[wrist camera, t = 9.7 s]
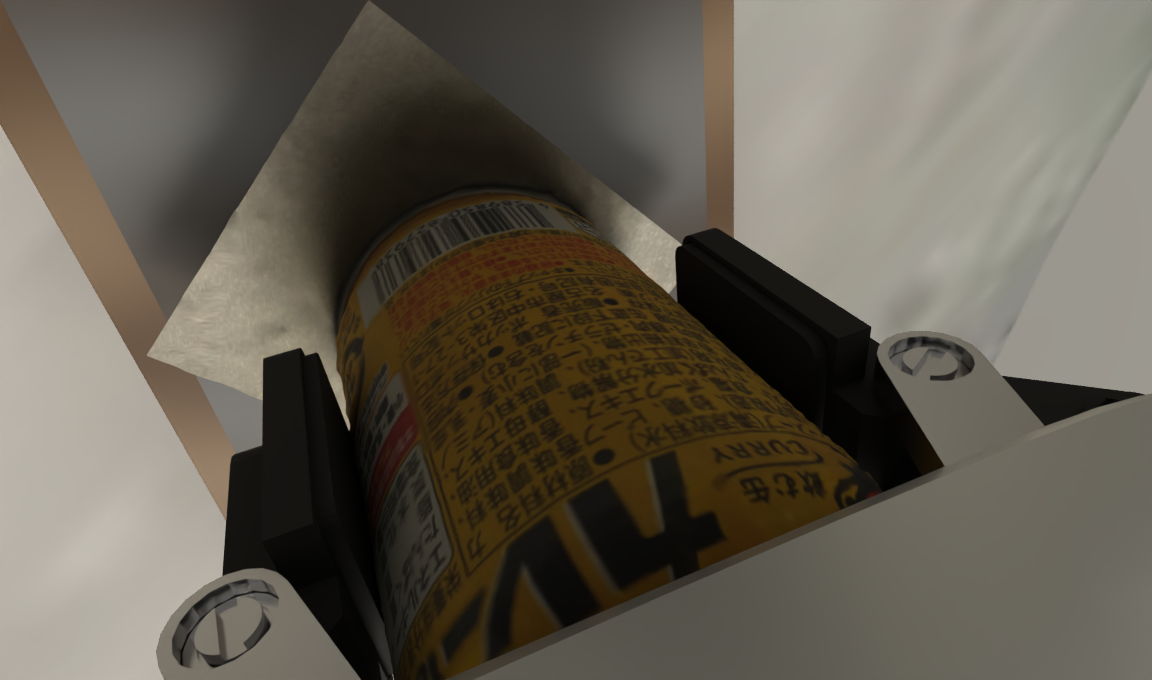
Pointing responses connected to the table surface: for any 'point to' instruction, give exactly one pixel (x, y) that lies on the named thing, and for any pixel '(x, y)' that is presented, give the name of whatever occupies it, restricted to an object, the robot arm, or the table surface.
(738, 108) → the table surface
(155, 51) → the tray
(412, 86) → the condiment
